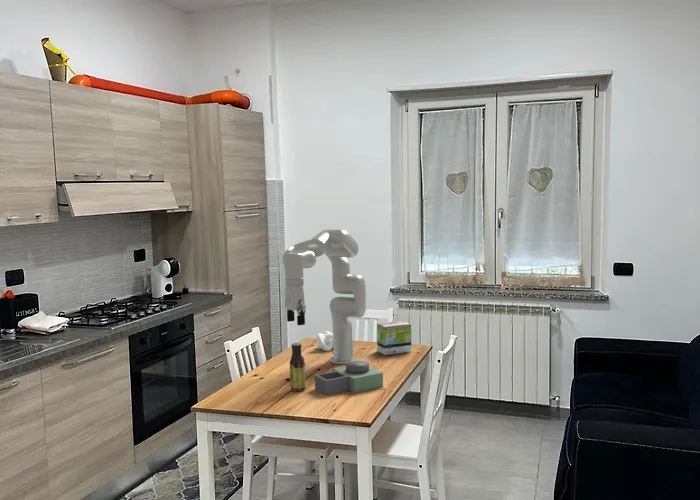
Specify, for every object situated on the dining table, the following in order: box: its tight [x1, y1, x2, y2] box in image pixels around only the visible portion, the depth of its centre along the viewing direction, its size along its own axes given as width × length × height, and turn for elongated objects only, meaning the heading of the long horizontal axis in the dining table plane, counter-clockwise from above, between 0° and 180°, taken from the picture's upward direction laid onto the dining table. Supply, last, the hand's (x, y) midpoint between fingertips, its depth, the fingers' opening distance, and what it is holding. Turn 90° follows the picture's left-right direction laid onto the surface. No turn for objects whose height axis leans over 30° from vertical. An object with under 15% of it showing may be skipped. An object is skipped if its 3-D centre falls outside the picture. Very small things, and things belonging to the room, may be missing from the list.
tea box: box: [376, 320, 412, 356], centre depth 328 cm, size 15×10×15 cm
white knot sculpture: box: [316, 330, 333, 352], centre depth 337 cm, size 11×12×9 cm
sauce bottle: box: [289, 342, 306, 392], centre depth 269 cm, size 6×6×20 cm
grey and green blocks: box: [314, 360, 384, 396], centre depth 273 cm, size 18×25×9 cm
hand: (296, 323), depth 268 cm, fingers open, 9 cm apart
